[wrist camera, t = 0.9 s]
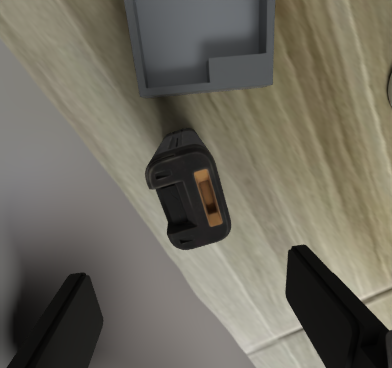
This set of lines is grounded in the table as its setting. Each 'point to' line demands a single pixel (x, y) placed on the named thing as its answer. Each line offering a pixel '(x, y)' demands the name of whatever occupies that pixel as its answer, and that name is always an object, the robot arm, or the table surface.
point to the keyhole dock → (201, 45)
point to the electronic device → (189, 190)
